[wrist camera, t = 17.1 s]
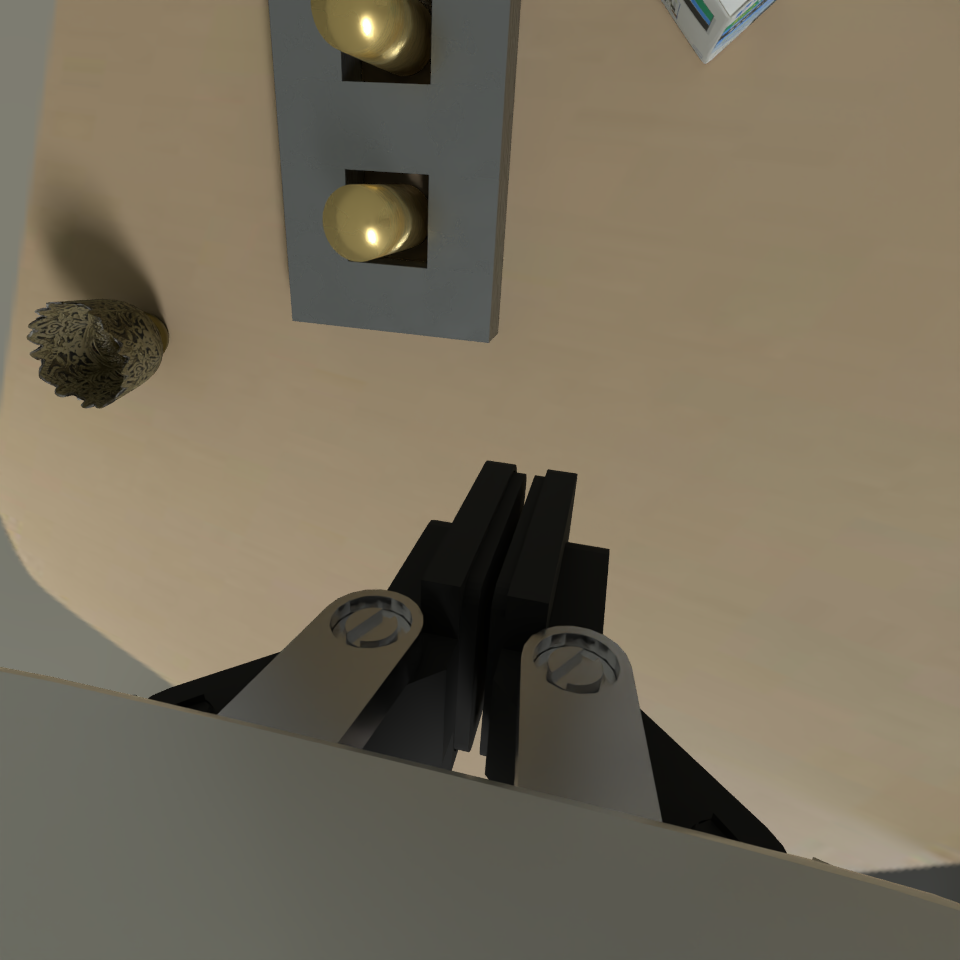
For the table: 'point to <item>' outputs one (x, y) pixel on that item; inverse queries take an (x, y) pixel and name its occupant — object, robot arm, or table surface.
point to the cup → (97, 348)
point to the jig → (400, 169)
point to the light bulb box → (714, 21)
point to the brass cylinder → (375, 220)
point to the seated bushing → (378, 31)
